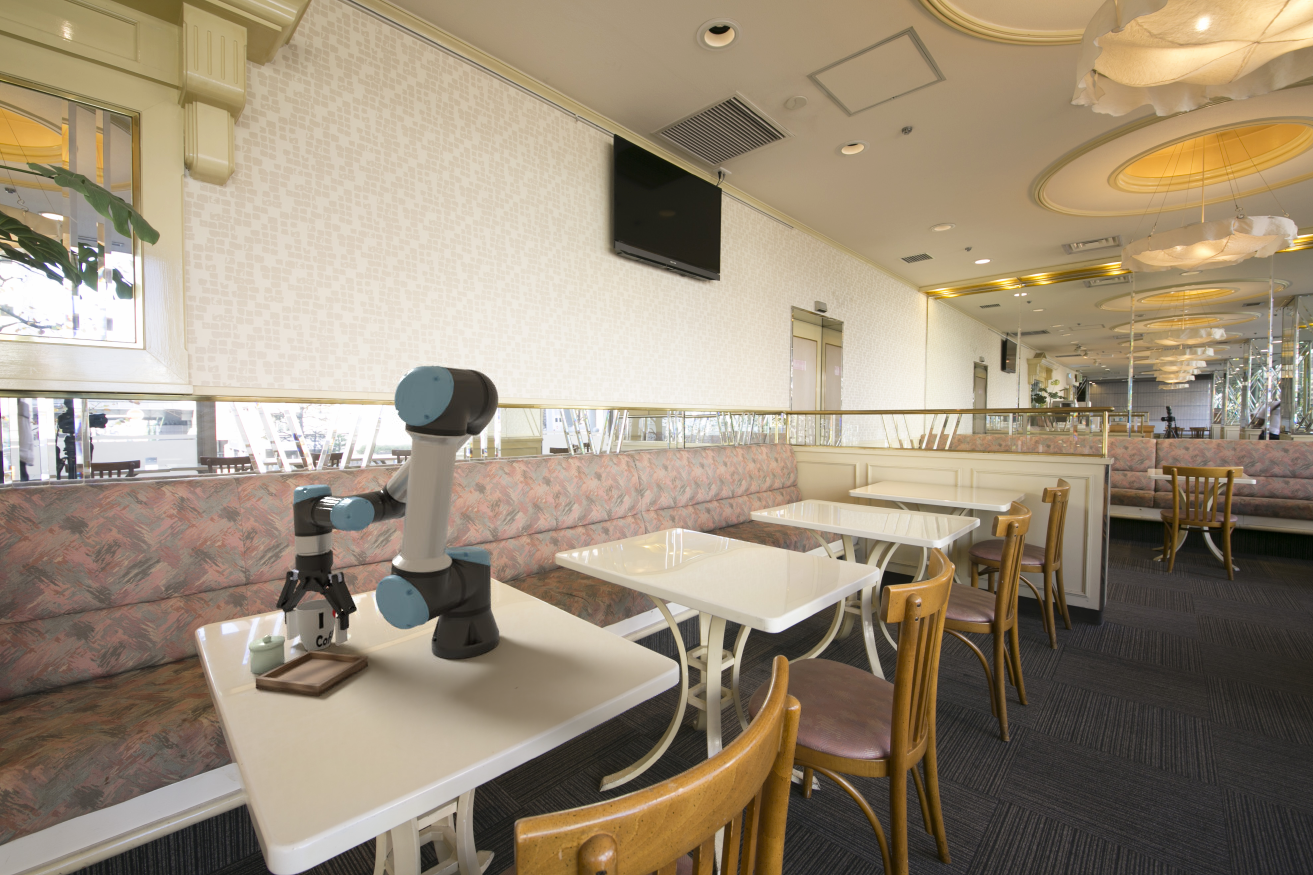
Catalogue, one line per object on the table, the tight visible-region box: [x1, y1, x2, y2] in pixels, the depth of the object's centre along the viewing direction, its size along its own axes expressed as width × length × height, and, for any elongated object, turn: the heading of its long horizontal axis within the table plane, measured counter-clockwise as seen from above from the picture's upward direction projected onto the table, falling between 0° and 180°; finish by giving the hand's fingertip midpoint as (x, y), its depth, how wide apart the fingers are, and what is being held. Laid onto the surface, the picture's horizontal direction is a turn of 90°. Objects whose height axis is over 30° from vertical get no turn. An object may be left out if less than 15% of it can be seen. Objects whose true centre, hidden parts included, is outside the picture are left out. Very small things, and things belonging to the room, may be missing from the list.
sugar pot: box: [248, 634, 286, 675], centre depth 118 cm, size 6×6×7 cm
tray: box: [255, 650, 369, 697], centre depth 113 cm, size 15×13×2 cm
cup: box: [295, 598, 337, 652], centre depth 128 cm, size 8×8×10 cm
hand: (317, 640), depth 128 cm, fingers open, 13 cm apart
